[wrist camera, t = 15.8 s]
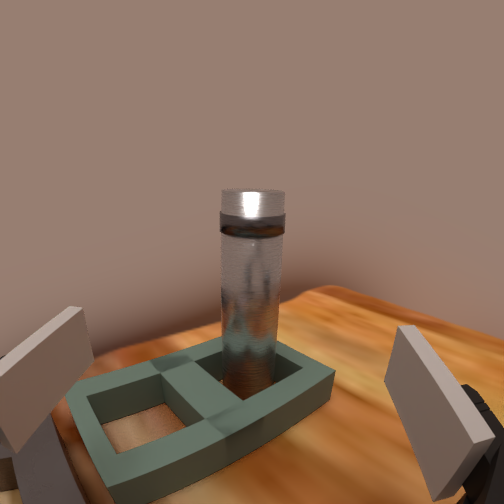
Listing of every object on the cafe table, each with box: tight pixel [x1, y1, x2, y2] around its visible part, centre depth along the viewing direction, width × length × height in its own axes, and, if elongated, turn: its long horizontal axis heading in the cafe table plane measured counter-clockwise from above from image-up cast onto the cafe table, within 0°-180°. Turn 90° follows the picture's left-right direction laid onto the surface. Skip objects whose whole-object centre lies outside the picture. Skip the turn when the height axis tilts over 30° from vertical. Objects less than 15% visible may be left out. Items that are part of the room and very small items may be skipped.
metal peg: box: [220, 189, 285, 401], centre depth 22 cm, size 4×4×16 cm
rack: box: [65, 336, 336, 504], centre depth 21 cm, size 10×18×3 cm, turn 131°
